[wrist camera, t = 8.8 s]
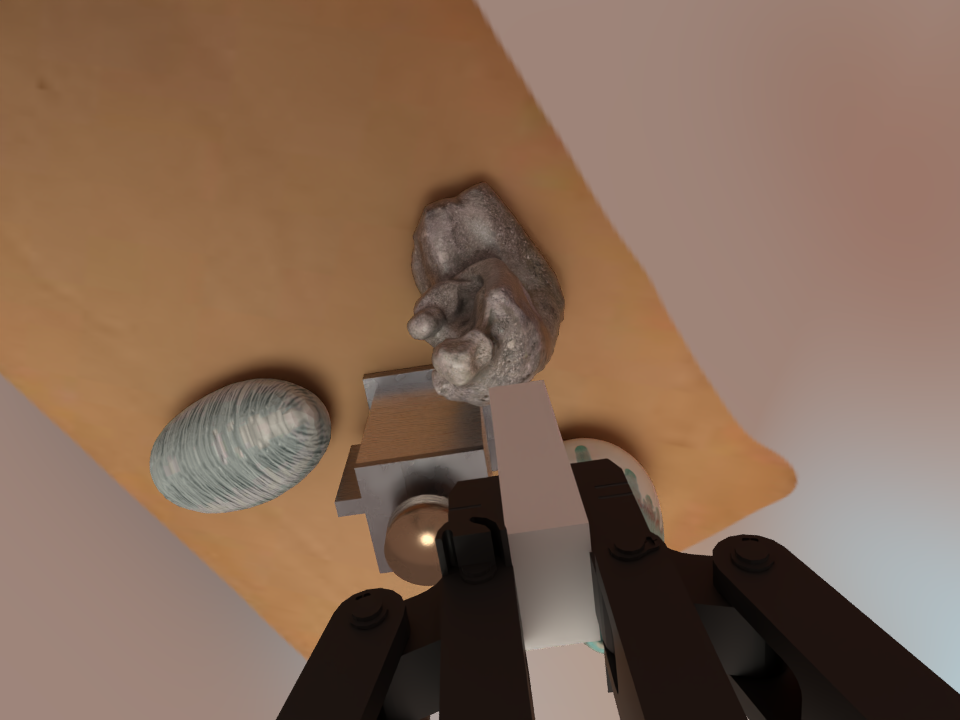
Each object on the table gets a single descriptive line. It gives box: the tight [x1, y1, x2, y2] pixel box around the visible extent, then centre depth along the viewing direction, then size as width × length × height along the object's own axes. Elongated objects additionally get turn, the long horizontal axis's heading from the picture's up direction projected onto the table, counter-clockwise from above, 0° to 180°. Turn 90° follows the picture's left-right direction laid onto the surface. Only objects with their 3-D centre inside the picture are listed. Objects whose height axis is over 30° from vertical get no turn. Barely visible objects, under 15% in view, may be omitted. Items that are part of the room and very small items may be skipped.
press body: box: [335, 365, 498, 573], centre depth 50 cm, size 10×12×14 cm
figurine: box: [407, 182, 565, 407], centre depth 44 cm, size 13×12×18 cm
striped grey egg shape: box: [150, 378, 331, 513], centre depth 52 cm, size 14×10×10 cm
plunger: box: [384, 495, 449, 586], centre depth 46 cm, size 6×6×13 cm
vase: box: [563, 438, 664, 654], centre depth 51 cm, size 12×12×18 cm
